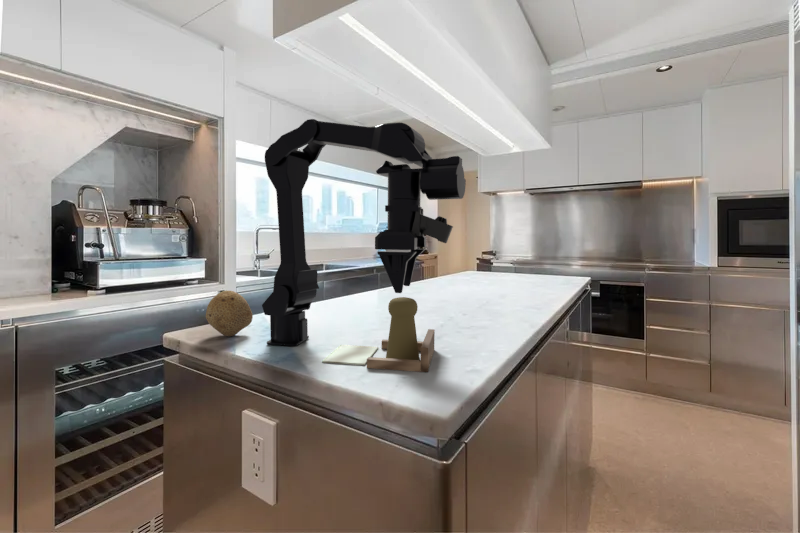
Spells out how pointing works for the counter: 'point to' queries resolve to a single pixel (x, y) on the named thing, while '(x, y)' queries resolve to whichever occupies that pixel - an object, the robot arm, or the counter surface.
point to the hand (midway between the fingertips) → (403, 289)
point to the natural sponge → (228, 313)
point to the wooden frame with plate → (364, 355)
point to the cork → (402, 329)
